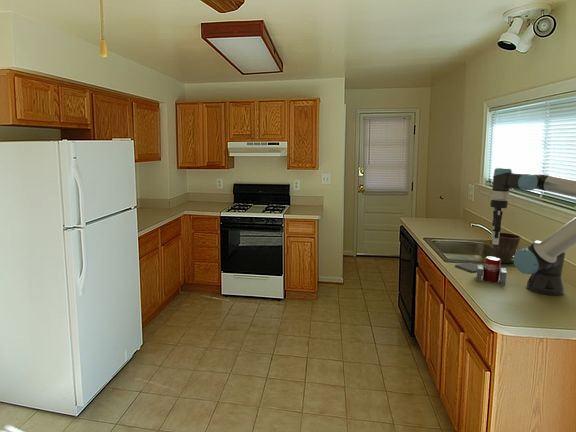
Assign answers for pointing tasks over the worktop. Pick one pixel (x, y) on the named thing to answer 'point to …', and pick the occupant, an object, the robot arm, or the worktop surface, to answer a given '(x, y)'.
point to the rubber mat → (468, 267)
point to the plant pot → (506, 246)
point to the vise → (502, 274)
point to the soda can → (491, 269)
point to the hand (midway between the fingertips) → (494, 241)
